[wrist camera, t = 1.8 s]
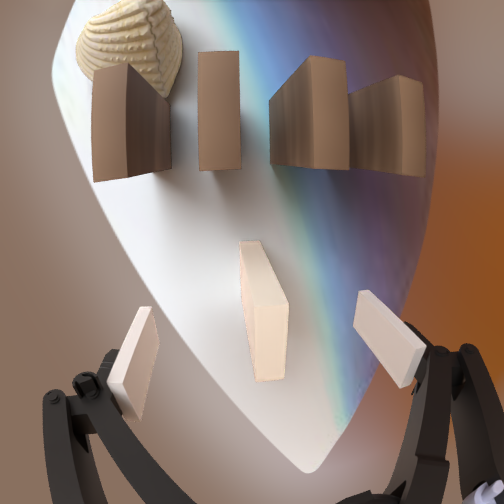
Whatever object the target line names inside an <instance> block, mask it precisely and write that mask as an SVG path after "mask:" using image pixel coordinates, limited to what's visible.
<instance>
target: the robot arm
mask: <svg viewBox="0 0 504 504" xmlns="http://www.w3.org/2000/svg"><path fill="white" fill-rule="evenodd" d="M353 327H354V328H355V329H356V331H357V332H358V333H359V335H360V336H361V337H362V339H363V340H364V341H365V342H366V344H367V345H368V346H369V348H370V349H371V350H372V352H373V353H374V354H375V356H376V357H377V358H378V360H379V361H380V362H381V364H382V365H383V366H384V368H385V369H386V370H387V372H388V373H389V375H390V376H391V377H392V379H393V380H394V381H395V383H396V384H397V386H398V387H399V388H403V387H406V386H409V385H411V382H412V380H413V378H414V377H415V378H416V379H417V383H416V385H415V387H414V389H413V391H412V393H411V395H413V393H414V396H413V402H412V406H411V411H410V416H409V420H408V424H407V428H406V432H405V436H404V440H403V443H402V447H401V450H400V453H399V457H398V460H397V463H396V466H395V469H394V472H393V475H392V477H391V480H390V483H389V485H388V486H387V488H386V489H385V491H384V493H383V494H371V491H370V490H368V491H366V492H363V493H360V494H357V495H354V496H351V497H348V498H345V499H344V500H342V501H340V502H338V503H336V504H441V503H442V499H443V495H444V491H445V486H446V482H447V477H448V472H449V465H450V463H449V461H446V460H445V455H446V448H447V441H448V433H449V424H450V412H451V417H452V421H453V427H454V434H455V440H456V447H457V455H458V465H459V476H460V489H461V494H462V499H463V502H462V504H504V412H503V409H502V406H501V403H500V400H499V397H498V395H497V392H496V390H495V387H494V384H493V382H492V380H491V377H490V375H489V372H488V370H487V368H486V366H485V364H484V361H483V359H482V357H481V355H480V353H479V350H478V349H477V348H476V347H475V346H474V345H472V344H467V343H466V344H463V345H461V347H460V349H459V351H457V352H450V351H449V350H448V349H447V348H445V347H443V346H433V345H432V344H431V343H430V342H429V341H428V340H427V339H426V338H425V337H424V336H423V335H421V333H420V332H419V331H417V329H416V328H415V327H414V326H413V325H411V324H409V323H407V322H402V321H401V320H400V319H399V318H398V317H397V316H396V315H395V314H394V313H393V312H392V311H391V310H390V309H389V308H388V307H386V306H385V305H384V304H383V303H382V302H381V301H380V300H379V299H378V298H377V297H376V296H375V295H374V294H373V293H371V292H370V291H369V290H363V291H359V293H358V299H357V305H356V311H355V317H354V322H353ZM159 344H160V341H159V338H158V333H157V329H156V324H155V320H154V315H153V311H152V307H140V308H139V310H138V312H137V314H136V316H135V318H134V321H133V323H132V325H131V327H130V329H129V331H128V333H127V336H126V338H125V340H124V342H123V344H122V347H121V349H120V350H116V349H112V350H110V351H109V352H108V353H107V354H106V355H105V357H104V359H103V363H102V364H101V366H100V368H99V370H98V372H97V374H95V373H93V372H83V373H80V374H78V375H77V376H76V377H75V378H74V380H73V382H72V384H73V388H74V389H75V391H76V393H77V395H75V396H66V395H65V394H64V393H63V391H61V390H58V389H54V390H51V391H49V392H48V393H46V394H45V396H44V397H43V436H44V450H45V459H46V467H47V475H48V481H49V487H50V492H51V497H52V501H53V504H108V502H107V500H106V497H105V494H104V491H103V488H102V485H101V482H100V479H99V475H98V472H97V468H96V465H95V461H94V457H93V453H92V449H91V445H90V440H89V435H88V434H95V433H98V435H99V437H100V439H101V440H102V442H103V444H104V445H105V447H106V449H107V450H108V452H109V453H110V455H111V457H112V458H113V460H114V461H115V463H116V464H117V466H118V467H119V469H120V470H121V472H122V473H123V474H124V476H125V477H126V479H127V480H128V481H129V483H130V484H131V486H132V487H133V488H134V489H135V491H136V492H137V493H138V495H139V496H140V497H141V498H142V500H143V501H144V502H145V503H146V504H196V503H195V502H194V501H193V500H192V499H191V498H190V497H189V496H188V495H187V494H186V493H185V492H184V491H182V489H181V488H180V487H179V486H178V485H177V484H176V483H175V482H174V481H173V480H172V479H171V478H170V477H169V476H168V475H167V474H166V473H165V471H164V470H163V469H162V468H161V467H160V466H159V465H158V463H157V462H156V461H155V460H154V459H153V458H152V456H151V455H150V454H149V453H148V452H147V450H146V449H145V448H144V447H143V445H142V444H141V443H140V441H139V440H138V439H137V437H136V436H135V435H134V434H133V432H132V431H131V429H130V428H129V427H128V425H127V424H126V422H125V421H124V420H123V418H122V414H123V416H124V418H125V419H126V420H127V421H135V422H140V421H141V418H142V413H143V409H144V404H145V400H146V396H147V391H148V387H149V383H150V379H151V375H152V371H153V367H154V363H155V359H156V356H157V351H158V348H159Z"/></svg>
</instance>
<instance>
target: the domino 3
mask: <svg viewBox="0 0 504 504" xmlns="http://www.w3.org/2000/svg"><path fill="white" fill-rule="evenodd" d="M239 250H240V276H241V298H242V305H243V311H244V317H245V323H246V329H247V335H248V341H249V347H250V353H251V359H252V364H253V370H254V376H255V382H264V381H273V380H281V379H284V374H285V361H286V347H287V331H288V314H289V303H288V301H287V299H286V296H285V294H284V292H283V290H282V288H281V286H280V283H279V281H278V279H277V277H276V275H275V273H274V271H273V268H272V266H271V264H270V262H269V260H268V258H267V256H266V253H265V251H264V249H263V247H262V245H261V243H260V241H240V242H239Z"/></svg>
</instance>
